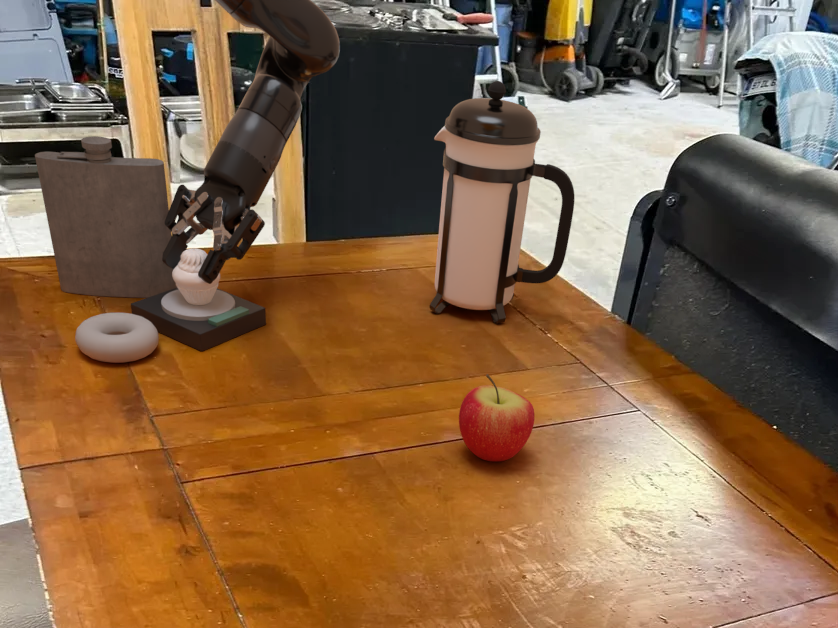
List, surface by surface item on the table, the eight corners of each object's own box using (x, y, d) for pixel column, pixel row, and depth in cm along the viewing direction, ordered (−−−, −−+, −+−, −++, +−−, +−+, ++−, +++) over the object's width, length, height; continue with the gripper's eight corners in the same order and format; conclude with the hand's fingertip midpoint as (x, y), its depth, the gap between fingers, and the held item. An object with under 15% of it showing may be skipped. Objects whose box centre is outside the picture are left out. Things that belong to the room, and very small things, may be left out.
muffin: (227, 307, 118) (223, 255, 114) (181, 312, 116) (175, 258, 111) (215, 289, 122) (211, 238, 118) (170, 293, 120) (164, 241, 115)
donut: (153, 330, 118) (73, 335, 114) (150, 305, 116) (68, 309, 112) (166, 364, 111) (82, 371, 108) (164, 338, 109) (77, 344, 105)
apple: (451, 434, 105) (460, 355, 98) (521, 436, 106) (535, 359, 99) (458, 472, 99) (468, 391, 92) (532, 474, 100) (547, 394, 93)
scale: (132, 320, 119) (129, 299, 117) (199, 296, 127) (197, 275, 125) (201, 351, 114) (199, 329, 113) (266, 324, 122) (265, 303, 120)
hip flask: (179, 288, 129) (162, 138, 115) (175, 300, 126) (158, 147, 112) (63, 283, 126) (33, 129, 113) (57, 295, 123) (26, 138, 110)
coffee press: (458, 335, 126) (484, 98, 106) (405, 292, 136) (420, 68, 116) (557, 319, 133) (598, 96, 114) (500, 279, 143) (529, 67, 123)
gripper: (188, 126, 114) (128, 241, 114) (271, 153, 109) (208, 274, 109) (221, 163, 121) (165, 271, 121) (301, 190, 116) (242, 303, 116)
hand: (186, 272), depth 115 cm, fingers closed on muffin, 6 cm apart
